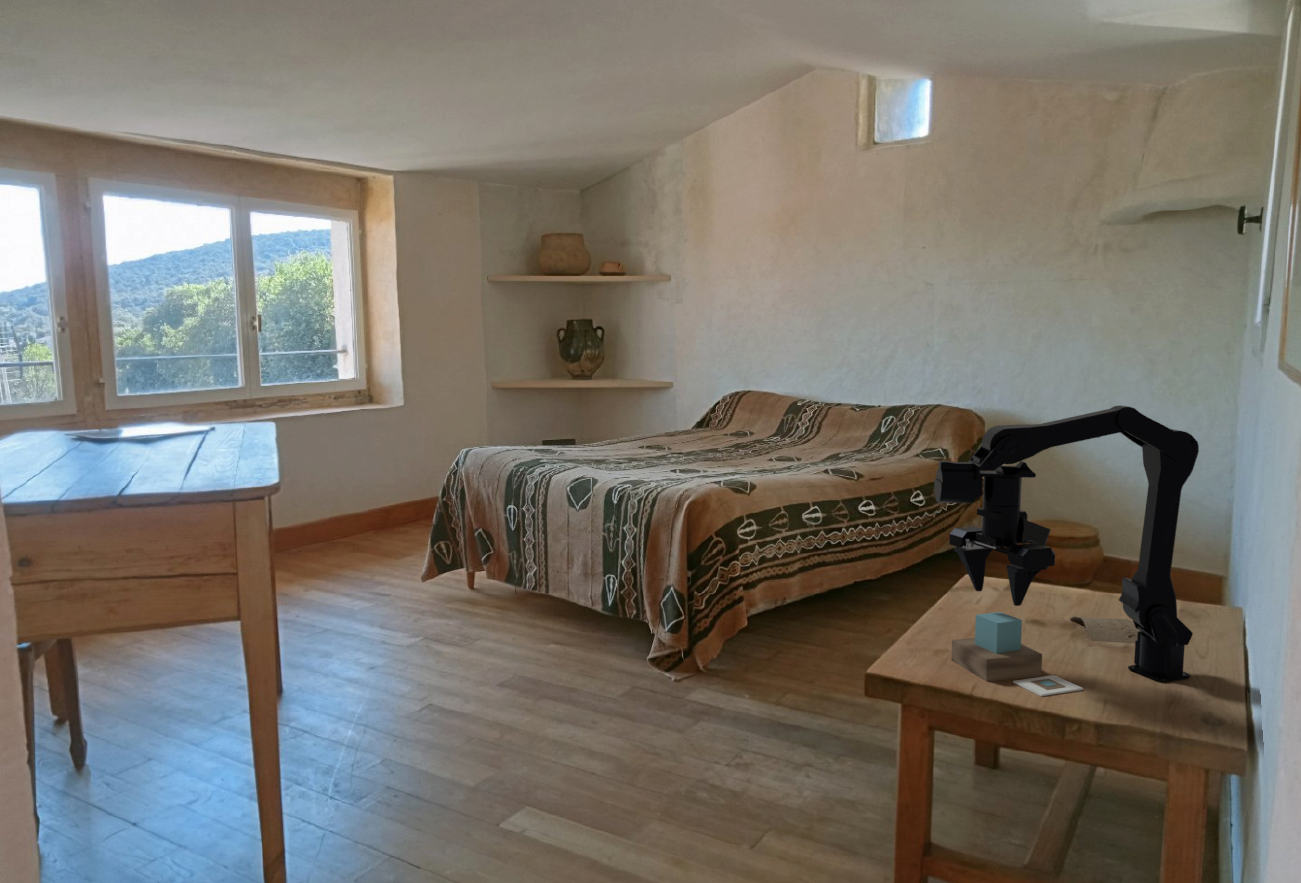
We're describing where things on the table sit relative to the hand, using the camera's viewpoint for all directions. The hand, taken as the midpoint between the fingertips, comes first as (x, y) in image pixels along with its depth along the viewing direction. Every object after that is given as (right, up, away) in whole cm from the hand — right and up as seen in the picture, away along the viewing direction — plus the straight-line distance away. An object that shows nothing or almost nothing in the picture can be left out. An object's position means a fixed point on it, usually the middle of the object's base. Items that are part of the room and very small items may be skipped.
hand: (997, 598), depth 150 cm
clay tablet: (+28, -11, +20) cm, 36 cm away
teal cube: (0, -8, +1) cm, 8 cm away
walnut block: (0, -12, +1) cm, 12 cm away
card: (+5, -13, -7) cm, 15 cm away
